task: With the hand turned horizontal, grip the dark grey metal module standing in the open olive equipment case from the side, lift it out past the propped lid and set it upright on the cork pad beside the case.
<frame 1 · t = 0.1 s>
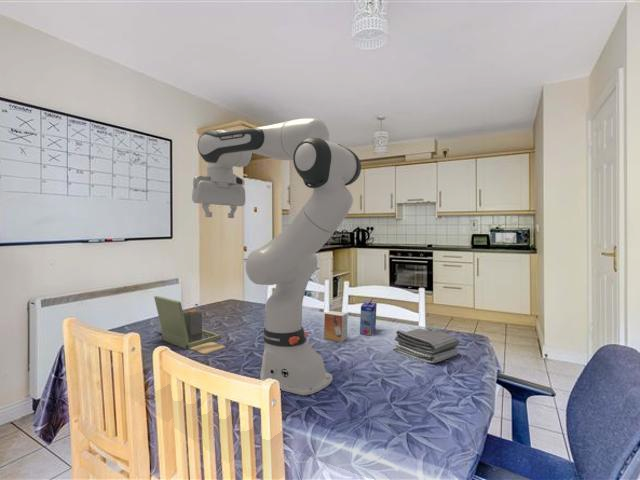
hand: (220, 217, 119), 48 cm above the table, tool pointing down, fingers open, 8 cm apart
towel: (424, 354, 121), on the table
case: (191, 339, 134), on the table
small box: (335, 339, 136), on the table
supplement box: (169, 333, 142), on the table
juice box: (368, 332, 145), on the table
pad: (208, 348, 124), on the table
module: (192, 339, 133), resting in case
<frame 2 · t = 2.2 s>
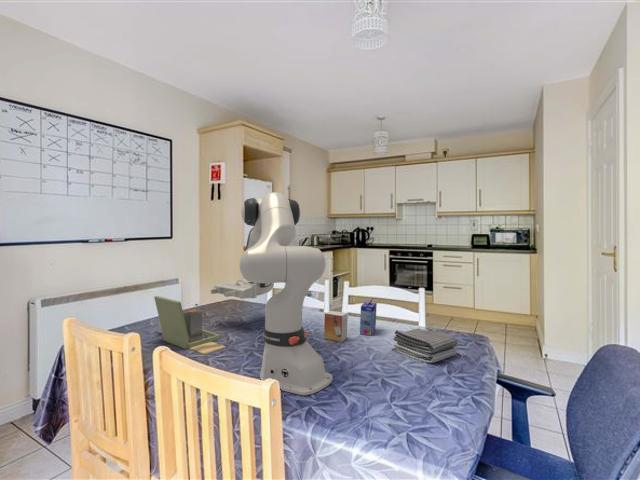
hand: (218, 293, 143), 17 cm above the table, tool horizontal, fingers open, 8 cm apart
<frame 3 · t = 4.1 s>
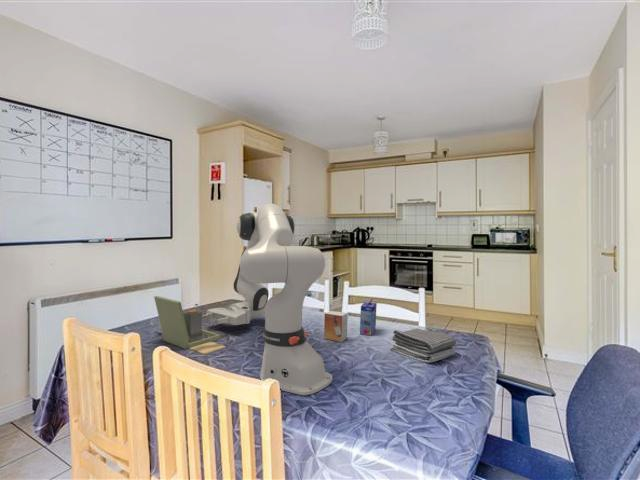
hand: (210, 319, 140), 6 cm above the table, tool horizontal, fingers open, 8 cm apart
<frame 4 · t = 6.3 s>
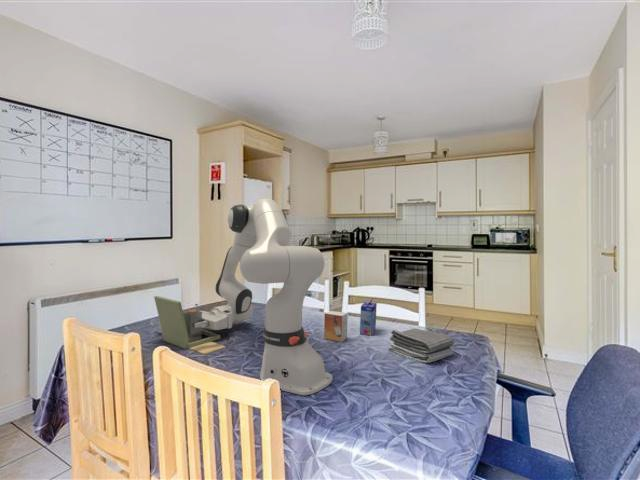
hand: (189, 324, 132), 7 cm above the table, tool horizontal, fingers closed on module, 5 cm apart
module: (192, 339, 133), resting in case, touching gripper
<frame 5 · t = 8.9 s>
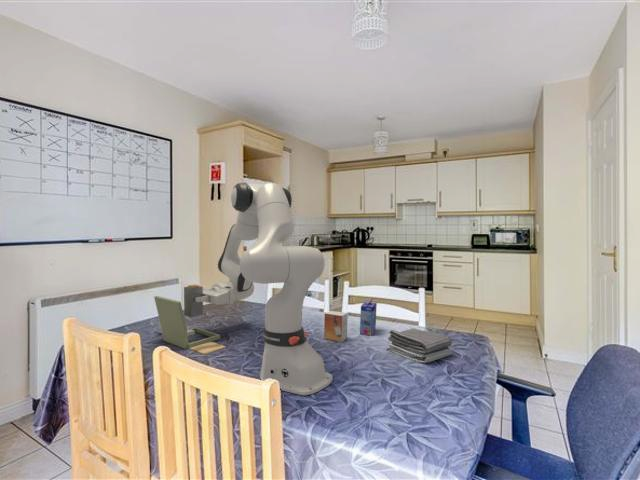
hand: (190, 298, 131), 17 cm above the table, tool horizontal, fingers closed on module, 5 cm apart
module: (193, 314, 132), point 10 cm above the table, touching gripper
when the fingers open (8 cm above the table, at t = 11.8 s): module stays where it is, resting on pad.
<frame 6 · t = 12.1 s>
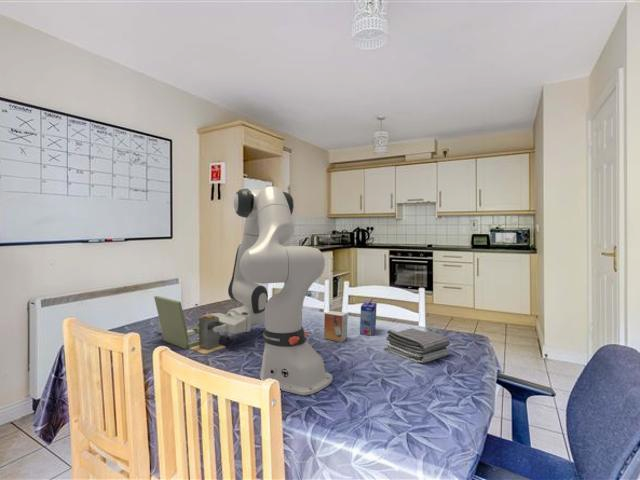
hand: (205, 327, 123), 8 cm above the table, tool horizontal, fingers open, 8 cm apart
module: (209, 346, 124), resting on pad
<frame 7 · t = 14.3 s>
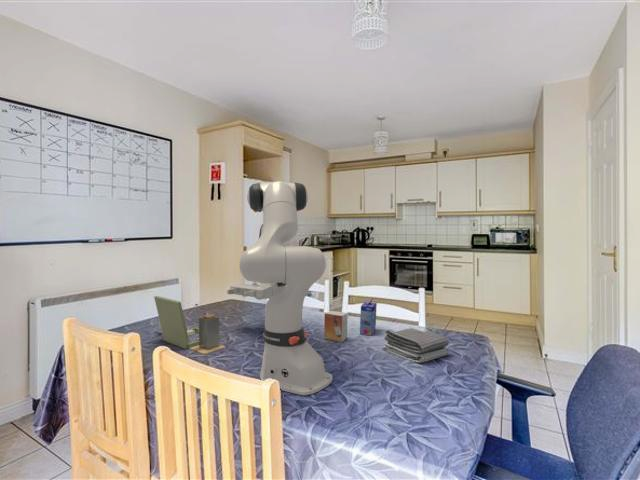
hand: (235, 293, 135), 18 cm above the table, tool horizontal, fingers open, 8 cm apart
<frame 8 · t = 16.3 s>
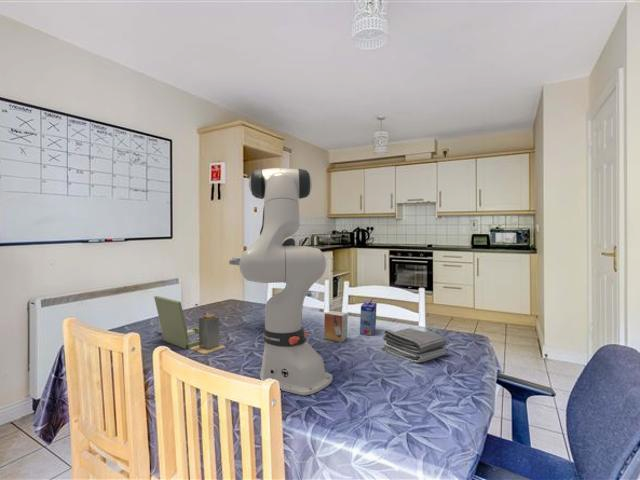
hand: (237, 263, 138), 30 cm above the table, tool horizontal, fingers open, 8 cm apart
at the end: module inside the target area on the pad (0.5 cm from its centre), point 0.4 cm above the pad's base; module tilted 0°; the gripper is holding nothing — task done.
